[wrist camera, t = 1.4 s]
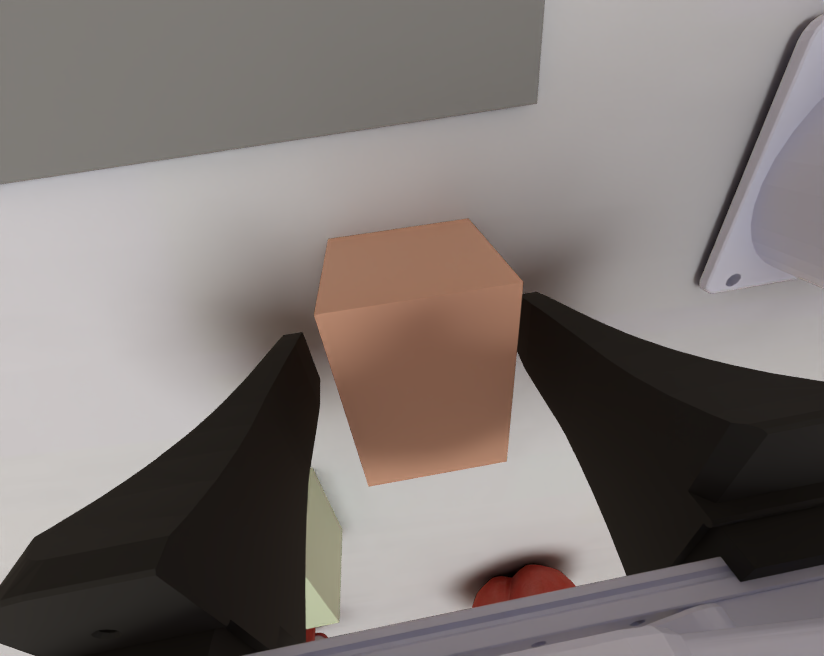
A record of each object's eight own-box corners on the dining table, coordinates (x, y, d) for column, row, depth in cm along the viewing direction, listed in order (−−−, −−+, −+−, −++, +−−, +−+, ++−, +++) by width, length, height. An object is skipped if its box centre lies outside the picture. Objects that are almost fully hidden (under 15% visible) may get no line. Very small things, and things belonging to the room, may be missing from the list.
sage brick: (312, 465, 17) (300, 569, 13) (342, 527, 21) (339, 622, 17) (222, 482, 17) (184, 592, 13) (268, 541, 20) (249, 640, 17)
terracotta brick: (467, 217, 11) (523, 281, 7) (468, 367, 15) (506, 461, 11) (328, 237, 11) (314, 315, 7) (365, 385, 14) (368, 486, 11)
